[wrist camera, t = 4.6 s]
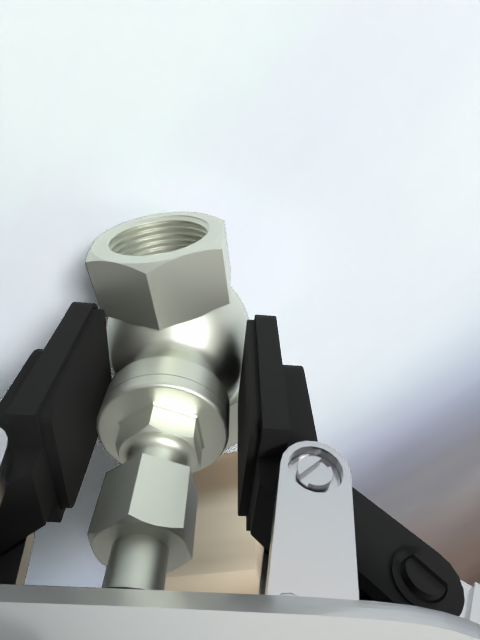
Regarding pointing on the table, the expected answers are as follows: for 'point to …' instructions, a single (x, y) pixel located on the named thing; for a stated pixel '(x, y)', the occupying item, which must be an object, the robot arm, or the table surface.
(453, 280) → the table surface
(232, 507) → the pale wood block
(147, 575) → the valve
